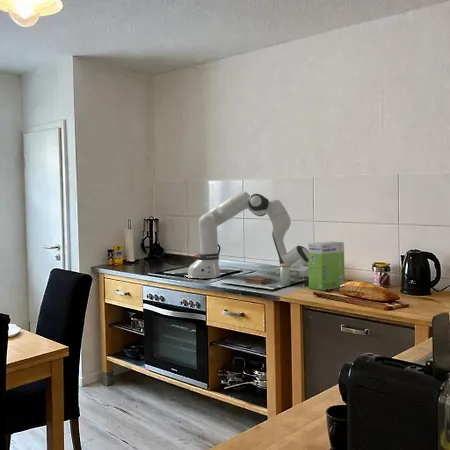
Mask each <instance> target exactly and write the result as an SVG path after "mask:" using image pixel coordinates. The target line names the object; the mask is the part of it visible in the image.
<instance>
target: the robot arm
mask: <svg viewBox="0 0 450 450" xmlns="http://www.w3.org/2000/svg"><path fill="white" fill-rule="evenodd" d="M245 210H249V211H250V212H251V213H252V214H253V215H255V216H257V217H264V216H265V215H267V216H268V217H269V219H270V222H271V225H272V233H271V234H272V235H271V236H272V240H273V243H274V246H275V249H276V252H277V253H276V254H277V256H278V259H279V260H278V261H279V265H280V264H282V263H288V264H290V272H288V275H289V276H290V277H292V278H293V279H301V278H309V259H308V249H307V248H306V247H305V246H302V245H296V246H295V247H293V248H292V249H291V250H290V251H288V252H287V249H286V246H285V243H284V237H285V235H286V233H287V231H289V228H290V226H291V222H292V221H291V217H290V215H289V213H288V211H287V209H286V207H285V206H284V205H283V203H282V202H281V201H280V200H279V199H272V200H269V199H268V198H267V197H265V196H264V195H262V194H259V193H253V194H251V195H250V194H249V192H247V191H240V192H238V193H236V194H234V195H232V196H231V197H229V198H227V199H226V200H224V201H222V202H221V203H220V204H218V205H216V206H215V207H214V208H212V209H211V210H208V211H207V212H206V213H204V214H202V215H201V216H200V217H199V219H198V235H199V253H198V254H197V253H195V254H194V257H195V258H196V259H197V260H195V261H194V262H192V263H191V264H190V265H189V267H188V271H187V274H188V275H185V274H184V277H185V276H186V277H188V278H187V279H189V278H199V279H215V278H217V277H220V276H222V274H221V270H220V265H219V261H220V253H218V250H219V247H218V244H219V243H218V242H219V241H218V227H219V226H221V225H222V224H224V223H225V222H228V221H229V220H230V219H232V218H234V217H235V216H238V214H240V213H242V212H243V211H245ZM274 274H275V275H280V266H276V267H275V268H274ZM186 277H185V278H186Z"/></svg>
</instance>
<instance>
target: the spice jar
mask: <svg viewBox="0 0 450 450" xmlns="http://www.w3.org/2000/svg"><path fill="white" fill-rule="evenodd" d="M279 267H280V274H279V277H280V278H279V279H280V281H279V284H280V286H281V287H282V286H283V287H289V286H291V276H289V275H288V272H290V264H288V263H282V264H280V263H279Z"/></svg>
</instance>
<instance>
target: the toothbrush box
mask: <svg viewBox="0 0 450 450" xmlns="http://www.w3.org/2000/svg"><path fill="white" fill-rule="evenodd" d="M344 243H345V242H342V241H322V242H309V243H308V247H307V248H308V249H307V250H308V259H309V277H308V289H311V290H318V291H327V289H328V290H333V289H335V290H336V289H340V288H339V287H340V285H342V284H344V283H345V284H346V282H345V281H346V279H345V275H346V274H345V244H344Z"/></svg>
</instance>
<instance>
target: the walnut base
mask: <svg viewBox="0 0 450 450" xmlns="http://www.w3.org/2000/svg"><path fill="white" fill-rule="evenodd" d="M271 281H272V279H271V277H266V276H259V275H256V276H251V277H246V278H245V283H246V284H253V285H259V284H261V285H264V284H268V283H271Z"/></svg>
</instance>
